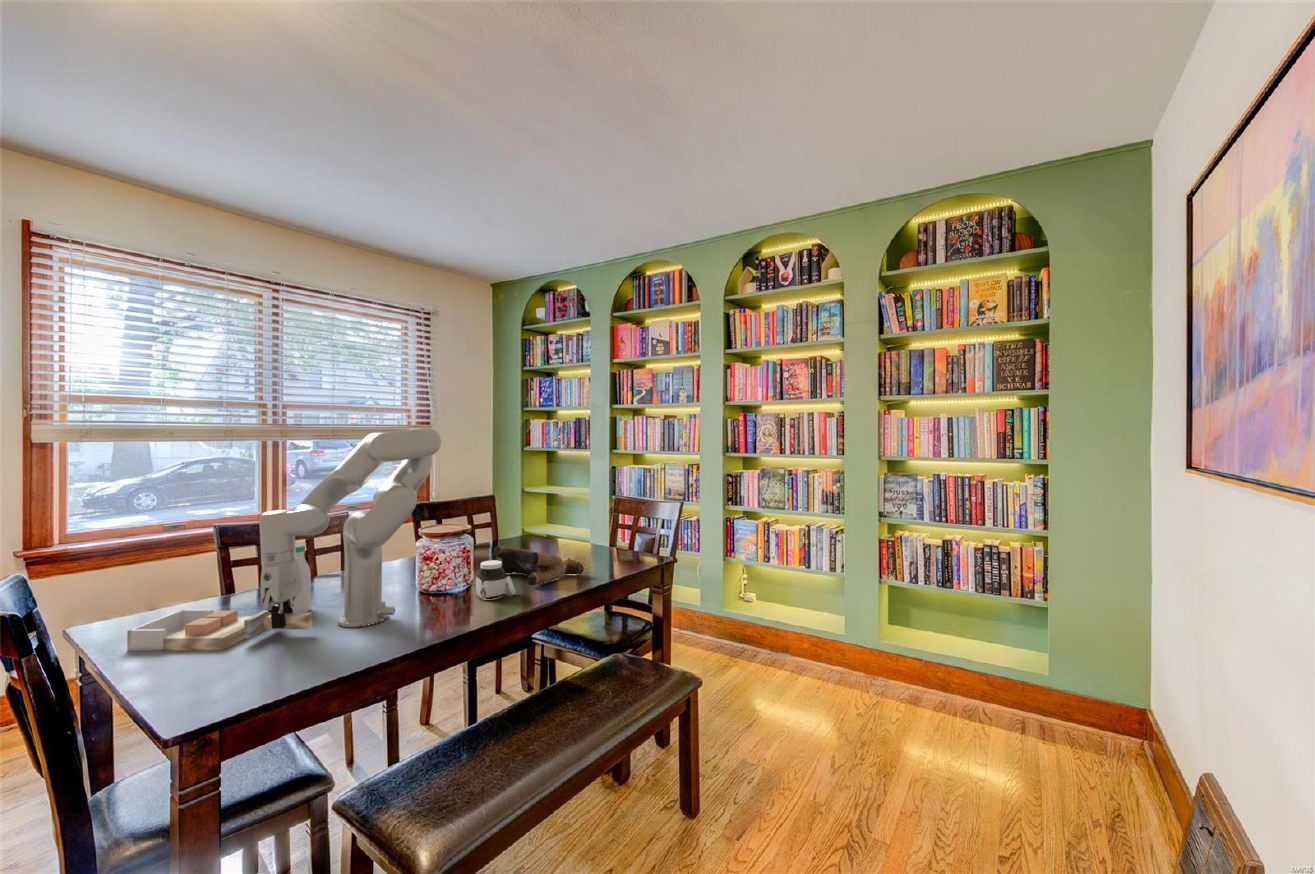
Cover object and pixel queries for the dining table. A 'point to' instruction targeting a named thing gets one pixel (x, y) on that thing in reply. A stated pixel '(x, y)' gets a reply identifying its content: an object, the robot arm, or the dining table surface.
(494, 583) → the spread jar
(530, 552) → the brown teddy bear
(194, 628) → the tile
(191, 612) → the box
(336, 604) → the dining table surface
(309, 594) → the milk bottle
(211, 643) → the board
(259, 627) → the scraper
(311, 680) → the dining table surface
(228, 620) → the tile
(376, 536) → the robot arm
